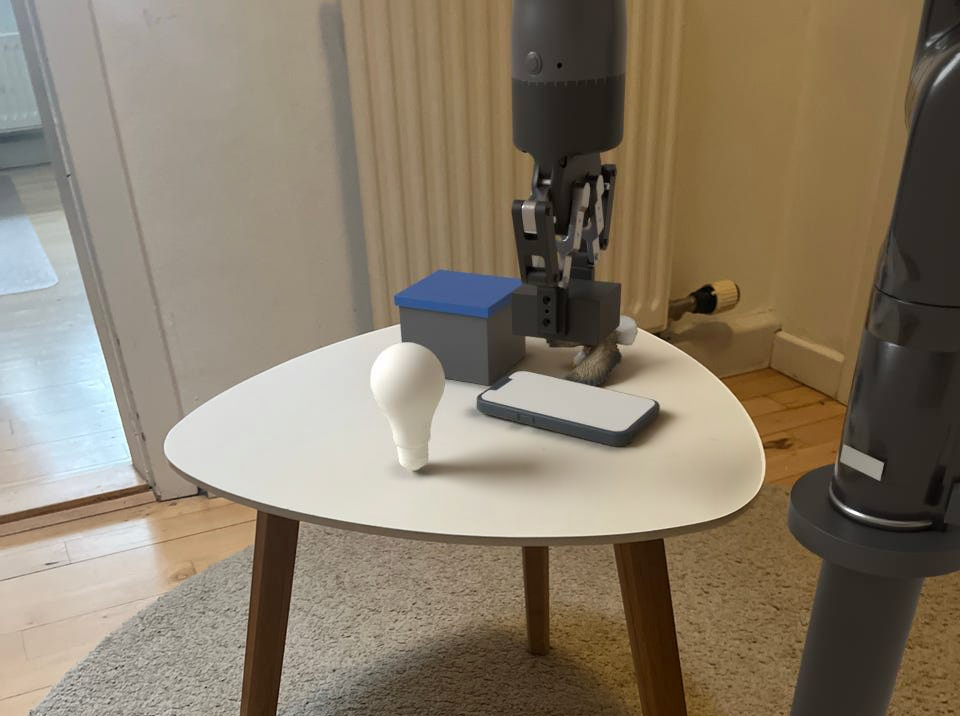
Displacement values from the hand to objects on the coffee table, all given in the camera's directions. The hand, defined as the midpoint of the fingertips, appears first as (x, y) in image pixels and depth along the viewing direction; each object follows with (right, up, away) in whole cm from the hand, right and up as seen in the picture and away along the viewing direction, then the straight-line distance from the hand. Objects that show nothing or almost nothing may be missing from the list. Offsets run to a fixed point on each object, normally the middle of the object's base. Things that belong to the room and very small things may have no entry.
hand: (566, 325), depth 74 cm
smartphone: (+2, -3, +19) cm, 19 cm away
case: (0, 0, 0) cm, 0 cm away
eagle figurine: (+5, +4, +28) cm, 28 cm away
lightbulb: (-12, -9, +11) cm, 19 cm away
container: (-8, +6, +30) cm, 32 cm away
